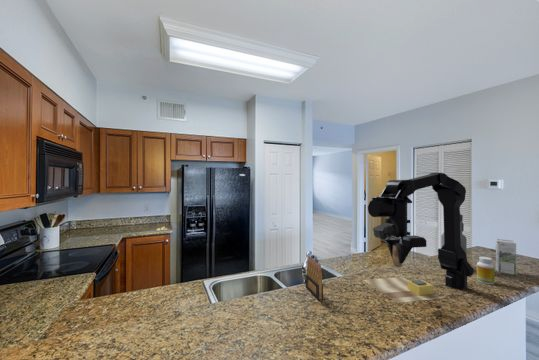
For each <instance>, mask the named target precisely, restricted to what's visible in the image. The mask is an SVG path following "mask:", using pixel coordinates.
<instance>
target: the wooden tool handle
mask: <svg viewBox="0 0 539 360" xmlns="http://www.w3.org/2000/svg"><path fill="white" fill-rule="evenodd" d="M392 265H393V267H395V268H403V267H402V266H403V263H399V253H398V247H397V246H396V245H393V260H392Z"/></svg>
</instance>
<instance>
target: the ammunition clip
mask: <svg viewBox="0 0 539 360" xmlns="http://www.w3.org/2000/svg"><path fill="white" fill-rule="evenodd" d="M306 266H307V267H306V274H305V289H307V291H308V292H309V293H311V295H312V296H313V297H314V298H315V299H316V300H317V301H323V300H324V284H323V274H322V270H323V269H322V264H321V263H319V262H318V261H317V260H315V259H314V258H313V257H311V256H310V255H308V258H307V265H306Z"/></svg>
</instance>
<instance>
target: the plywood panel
mask: <svg viewBox="0 0 539 360" xmlns="http://www.w3.org/2000/svg"><path fill="white" fill-rule="evenodd" d="M408 281H410V280H409V279H407V278H405V277H403V276H398V277H397V276H396V277H385V278H374V279H372V278H371V279H369V278H368V279H363V282H365V283H367V284H368V285H369V286H371V287H373V288H374V289H375V290H377V291H379V292H380V293H381V294H383V295H385V296H387V297H388V298H389V299H391V300H392V301H394V302H395V303H397V304H401V303H411V302H413V303H414V302H421V301H431V300H440V299H444V297H443V296H442V295H441V296H440V295H439V294H437V293H435V292H433V294H428V295H417V294H415V293H413V292H412V291H410V290H408V289H407V284H408Z"/></svg>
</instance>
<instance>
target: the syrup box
mask: <svg viewBox="0 0 539 360" xmlns="http://www.w3.org/2000/svg"><path fill="white" fill-rule="evenodd" d="M495 270H496V271H497V272H498V273H499V274H505V275H511V276H517V243H516V242H515V241H514V240H510V239H501V238H496V239H495Z"/></svg>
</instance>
